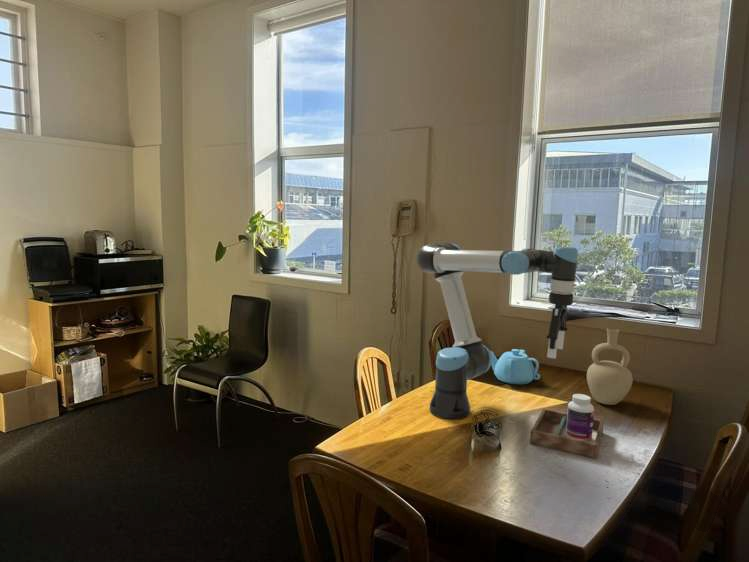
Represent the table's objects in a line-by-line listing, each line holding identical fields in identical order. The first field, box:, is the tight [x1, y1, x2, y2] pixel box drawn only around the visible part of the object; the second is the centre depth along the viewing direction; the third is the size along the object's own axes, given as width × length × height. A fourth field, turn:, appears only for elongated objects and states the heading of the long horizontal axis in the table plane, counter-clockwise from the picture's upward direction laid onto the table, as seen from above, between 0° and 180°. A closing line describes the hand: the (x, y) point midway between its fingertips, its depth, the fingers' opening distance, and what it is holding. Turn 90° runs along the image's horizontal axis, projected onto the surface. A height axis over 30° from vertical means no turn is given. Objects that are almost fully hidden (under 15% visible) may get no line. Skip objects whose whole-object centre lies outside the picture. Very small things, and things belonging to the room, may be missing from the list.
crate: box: [529, 408, 605, 460], centre depth 169 cm, size 20×22×4 cm
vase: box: [586, 327, 634, 406], centre depth 202 cm, size 17×17×30 cm
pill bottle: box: [566, 393, 595, 442], centre depth 167 cm, size 8×8×14 cm
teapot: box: [489, 348, 541, 385], centre depth 229 cm, size 19×19×14 cm
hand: (555, 353), depth 174 cm, fingers open, 13 cm apart
